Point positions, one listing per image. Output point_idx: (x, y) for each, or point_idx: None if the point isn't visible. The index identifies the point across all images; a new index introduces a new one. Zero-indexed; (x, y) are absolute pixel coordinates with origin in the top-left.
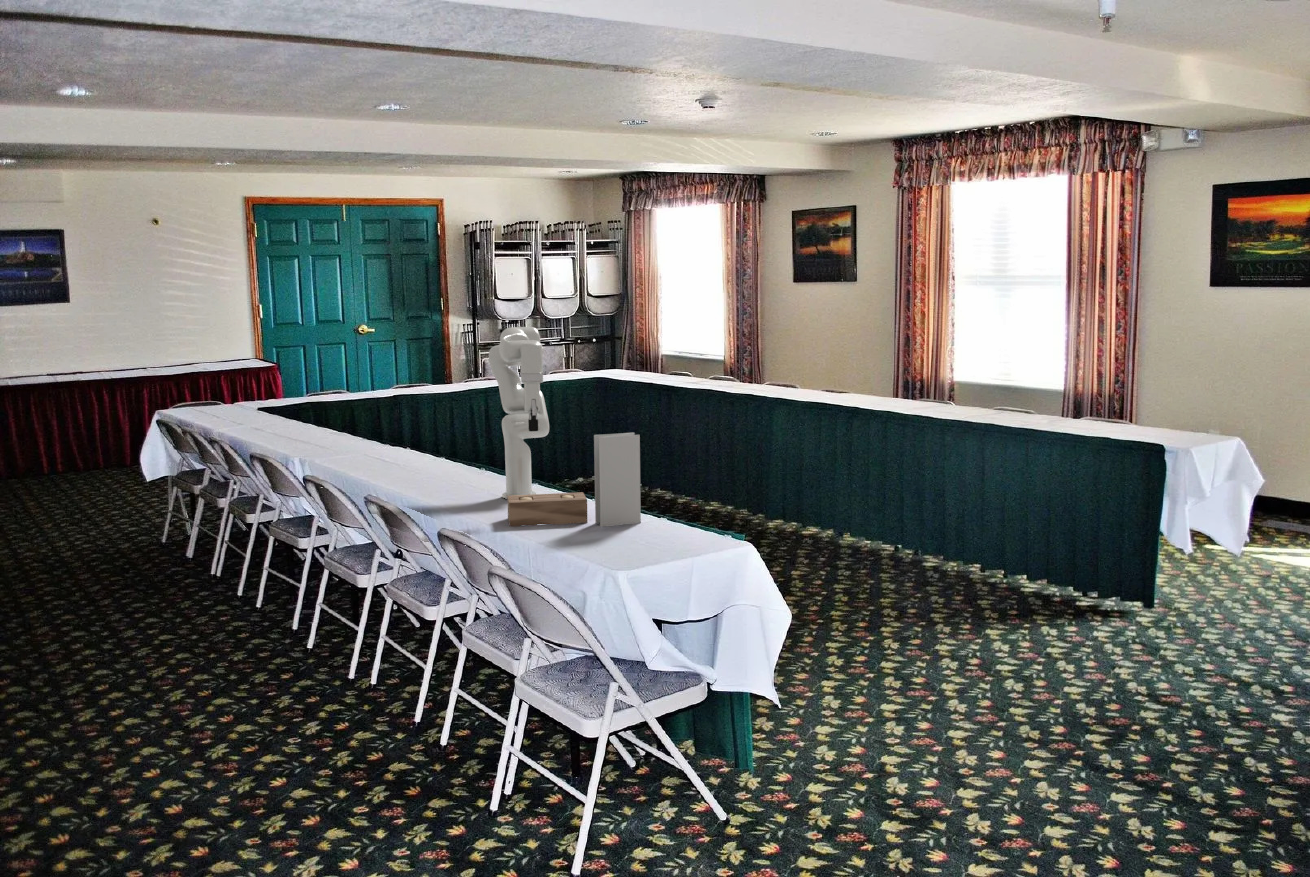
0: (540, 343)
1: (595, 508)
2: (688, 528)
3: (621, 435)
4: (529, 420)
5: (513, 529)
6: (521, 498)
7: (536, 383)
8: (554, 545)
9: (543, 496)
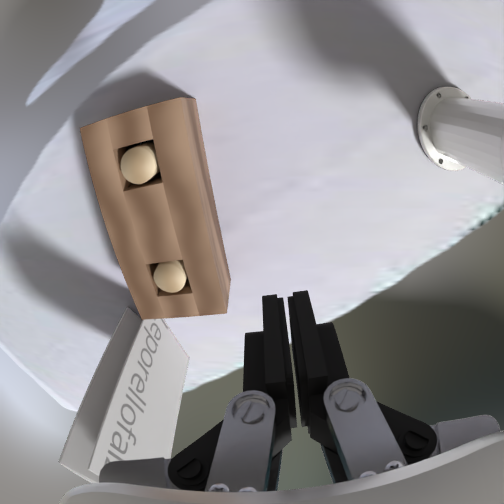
0: None
1: (142, 321)
2: None
3: None
4: (267, 383)
5: None
6: (137, 151)
7: None
8: (9, 235)
9: (167, 215)
